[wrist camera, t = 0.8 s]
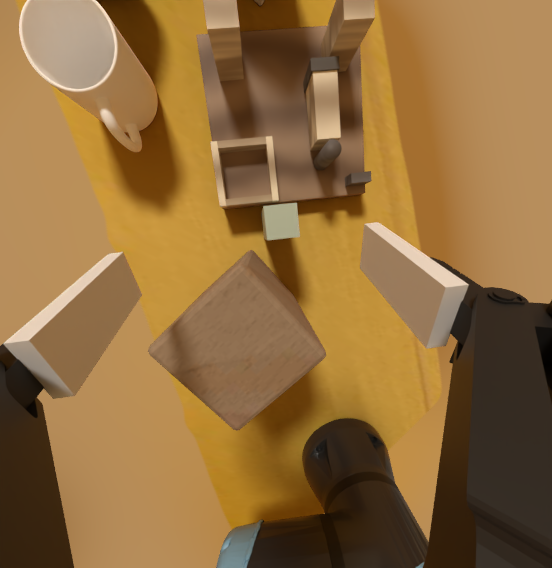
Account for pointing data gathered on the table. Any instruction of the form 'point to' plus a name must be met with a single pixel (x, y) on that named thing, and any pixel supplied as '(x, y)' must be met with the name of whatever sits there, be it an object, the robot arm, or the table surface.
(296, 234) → the leg peg
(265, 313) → the wooden block
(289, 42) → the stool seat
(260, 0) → the coffee box
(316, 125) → the hinged leg
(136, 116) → the cup
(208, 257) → the table surface
